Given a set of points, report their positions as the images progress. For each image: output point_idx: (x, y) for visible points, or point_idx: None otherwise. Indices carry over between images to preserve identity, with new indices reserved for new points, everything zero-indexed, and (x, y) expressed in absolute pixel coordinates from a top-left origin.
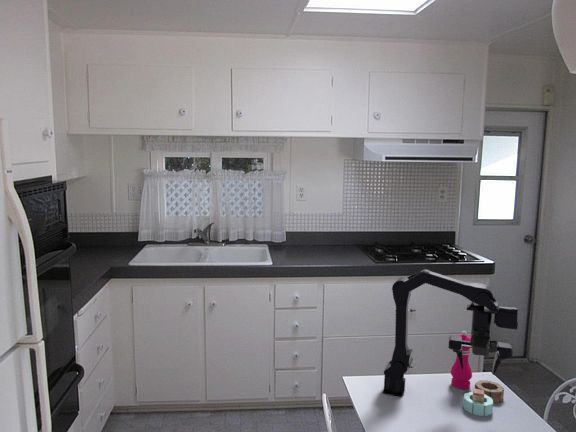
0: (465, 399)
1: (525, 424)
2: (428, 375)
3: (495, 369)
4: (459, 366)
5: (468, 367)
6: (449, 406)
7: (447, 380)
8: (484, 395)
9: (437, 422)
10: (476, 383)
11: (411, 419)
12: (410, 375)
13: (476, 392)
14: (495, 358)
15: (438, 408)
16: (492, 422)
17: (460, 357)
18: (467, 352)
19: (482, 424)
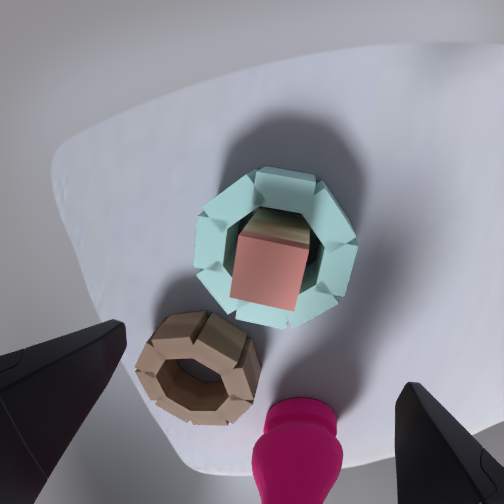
0: (353, 233)
1: (100, 145)
2: None
3: (69, 340)
4: (314, 479)
5: (269, 476)
6: (413, 238)
7: (341, 439)
8: (229, 299)
9: (486, 81)
10: (246, 404)
11: None
12: None
13: (286, 255)
14: (16, 443)
15: (466, 209)
16: (232, 116)
17: (495, 478)
18: None
19: (286, 85)
